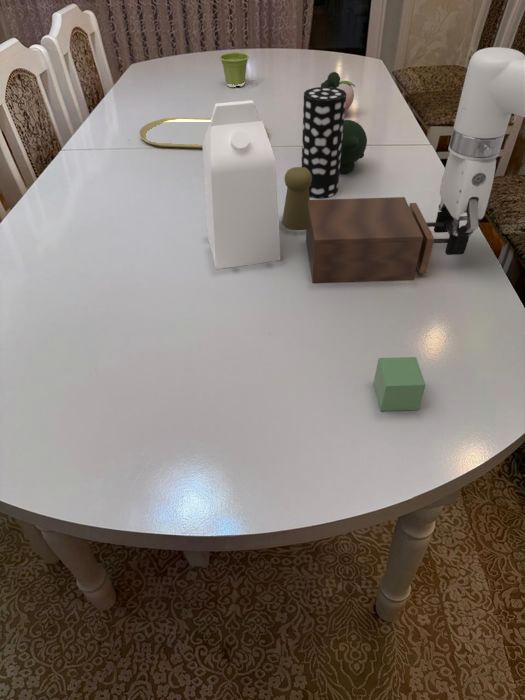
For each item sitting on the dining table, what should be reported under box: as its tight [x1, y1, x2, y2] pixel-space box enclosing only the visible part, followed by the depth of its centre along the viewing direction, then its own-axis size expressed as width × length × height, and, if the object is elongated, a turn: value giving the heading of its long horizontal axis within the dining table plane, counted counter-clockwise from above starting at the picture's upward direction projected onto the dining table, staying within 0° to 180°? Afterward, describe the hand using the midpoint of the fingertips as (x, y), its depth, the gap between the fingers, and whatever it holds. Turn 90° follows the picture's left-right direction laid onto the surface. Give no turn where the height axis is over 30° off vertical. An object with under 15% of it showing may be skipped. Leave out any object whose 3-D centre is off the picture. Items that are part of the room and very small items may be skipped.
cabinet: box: [305, 196, 423, 284], centre depth 88 cm, size 18×14×9 cm
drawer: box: [408, 202, 454, 274], centre depth 88 cm, size 23×12×7 cm, turn 91°
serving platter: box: [138, 116, 269, 149], centre depth 134 cm, size 19×35×2 cm, turn 82°
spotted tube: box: [300, 86, 346, 199], centre depth 104 cm, size 8×8×20 cm
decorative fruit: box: [337, 80, 356, 112], centre depth 141 cm, size 9×8×10 cm
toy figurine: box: [320, 71, 368, 174], centre depth 116 cm, size 9×19×25 cm
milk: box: [202, 99, 281, 270], centre depth 86 cm, size 12×12×26 cm
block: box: [373, 356, 426, 412], centre depth 66 cm, size 5×5×5 cm
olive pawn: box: [281, 166, 312, 231], centre depth 97 cm, size 6×6×11 cm
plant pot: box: [219, 52, 250, 89], centre depth 164 cm, size 9×9×9 cm
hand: (448, 241), depth 89 cm, fingers closed on drawer, 6 cm apart
